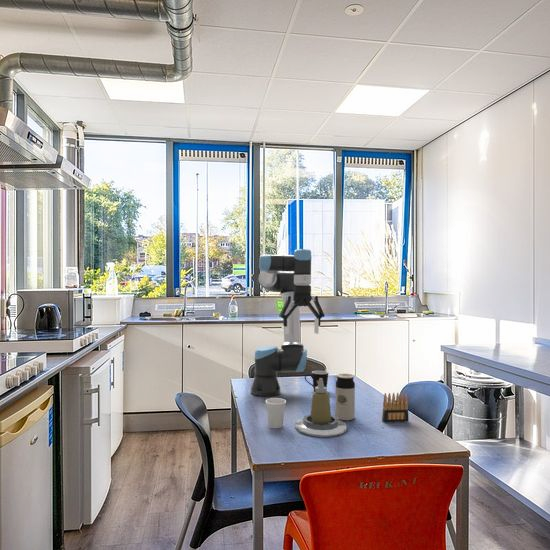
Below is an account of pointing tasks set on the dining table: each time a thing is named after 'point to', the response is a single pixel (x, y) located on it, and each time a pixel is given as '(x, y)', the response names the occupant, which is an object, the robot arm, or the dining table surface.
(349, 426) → the dining table surface
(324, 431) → the rosette plate
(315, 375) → the coffee mug
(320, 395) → the squeeze bottle
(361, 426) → the dining table surface
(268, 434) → the dining table surface
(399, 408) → the ammunition clip
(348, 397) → the travel mug
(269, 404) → the dixie cup
